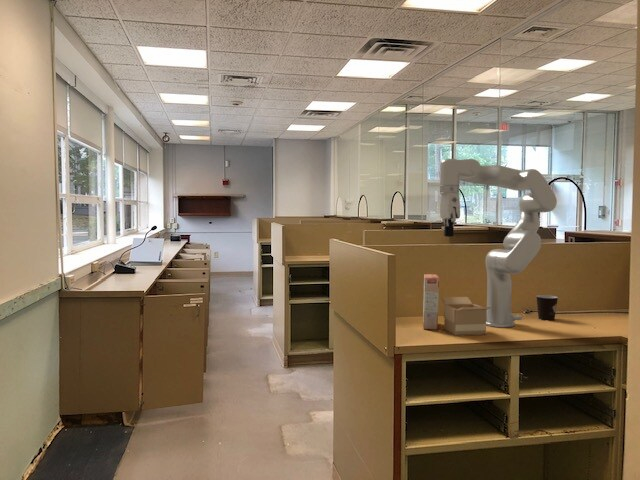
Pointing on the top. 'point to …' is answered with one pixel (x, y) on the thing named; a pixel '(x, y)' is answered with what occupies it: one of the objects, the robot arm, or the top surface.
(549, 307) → the coffee mug
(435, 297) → the cracker box
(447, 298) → the far flap
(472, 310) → the near flap
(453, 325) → the carton
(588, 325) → the top surface
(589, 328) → the top surface
